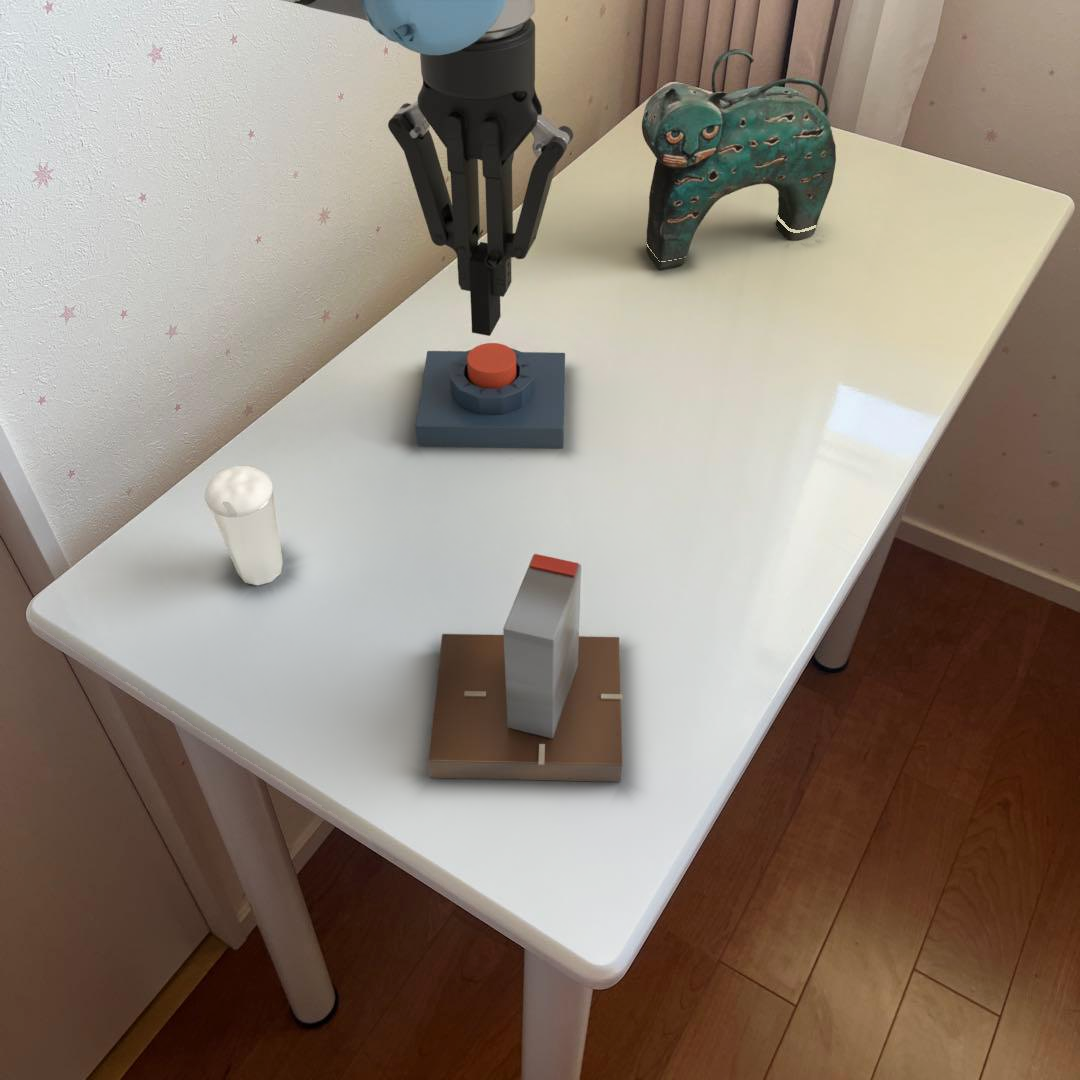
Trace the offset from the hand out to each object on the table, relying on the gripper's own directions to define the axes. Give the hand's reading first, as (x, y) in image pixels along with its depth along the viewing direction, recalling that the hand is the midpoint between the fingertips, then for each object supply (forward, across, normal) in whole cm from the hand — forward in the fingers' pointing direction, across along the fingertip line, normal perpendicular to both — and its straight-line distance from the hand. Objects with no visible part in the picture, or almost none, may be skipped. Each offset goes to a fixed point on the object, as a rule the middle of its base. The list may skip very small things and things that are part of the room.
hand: (486, 324), depth 87 cm
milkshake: (+9, +10, +22) cm, 26 cm away
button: (+5, 0, 0) cm, 5 cm away
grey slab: (+7, -13, +28) cm, 32 cm away
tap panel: (+9, -12, +29) cm, 32 cm away
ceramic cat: (+9, -15, -31) cm, 35 cm away
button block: (+9, 0, 0) cm, 9 cm away
